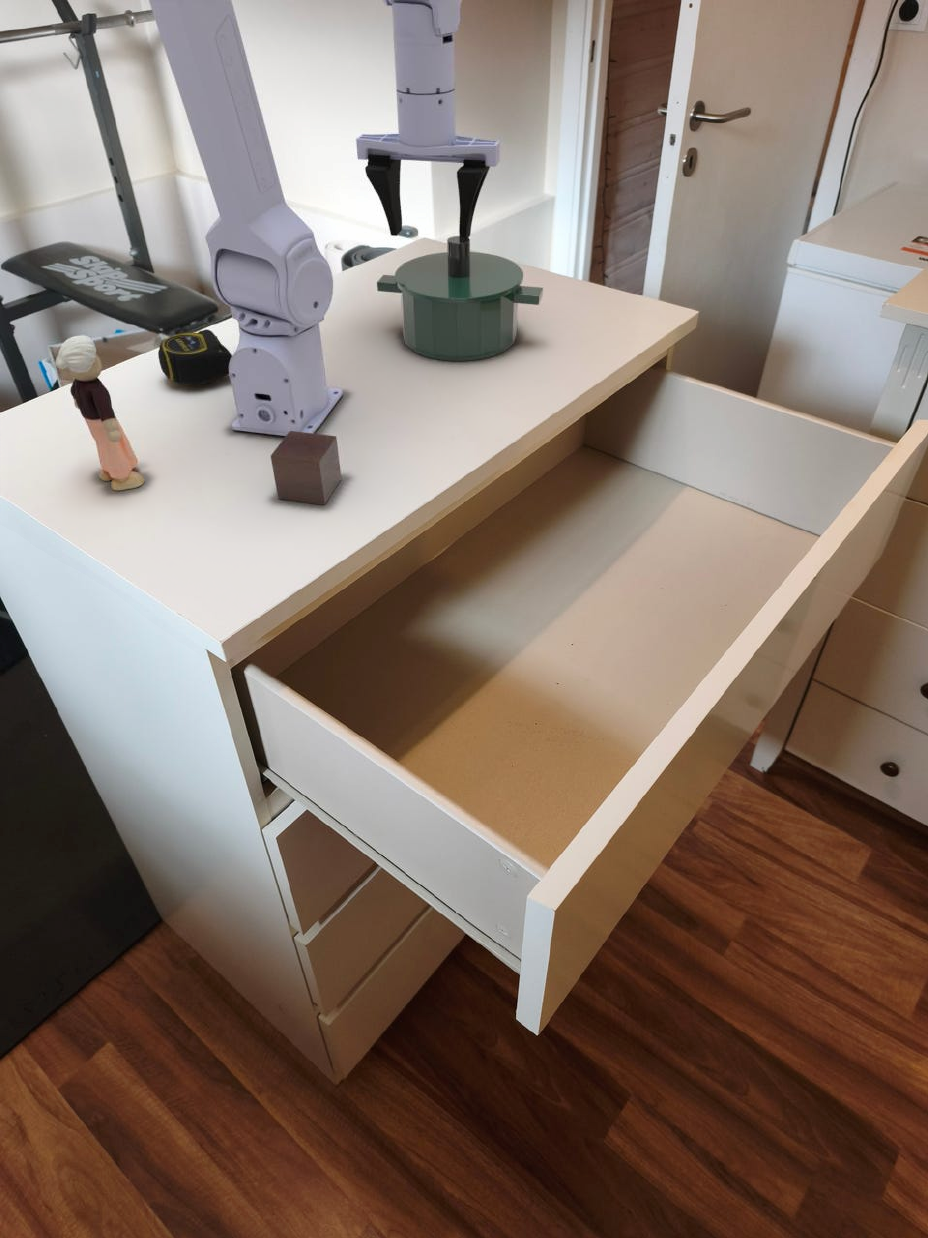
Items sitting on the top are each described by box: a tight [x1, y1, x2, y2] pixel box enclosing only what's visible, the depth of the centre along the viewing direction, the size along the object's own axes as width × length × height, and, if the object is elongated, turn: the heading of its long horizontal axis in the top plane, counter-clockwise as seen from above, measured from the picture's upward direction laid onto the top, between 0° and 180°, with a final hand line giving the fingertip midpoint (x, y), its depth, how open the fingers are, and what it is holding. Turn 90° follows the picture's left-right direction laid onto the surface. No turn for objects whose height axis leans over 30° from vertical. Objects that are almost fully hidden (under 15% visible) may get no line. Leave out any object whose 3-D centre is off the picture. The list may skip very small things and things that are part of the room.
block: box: [270, 431, 342, 506], centre depth 71 cm, size 4×4×4 cm
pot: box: [376, 274, 544, 362], centre depth 94 cm, size 13×18×6 cm
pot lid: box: [394, 235, 524, 303], centre depth 90 cm, size 14×14×5 cm
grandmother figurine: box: [54, 334, 145, 492], centre depth 70 cm, size 8×4×13 cm, turn 52°
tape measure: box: [157, 329, 233, 386], centre depth 88 cm, size 7×7×4 cm
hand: (430, 235), depth 92 cm, fingers open, 7 cm apart
